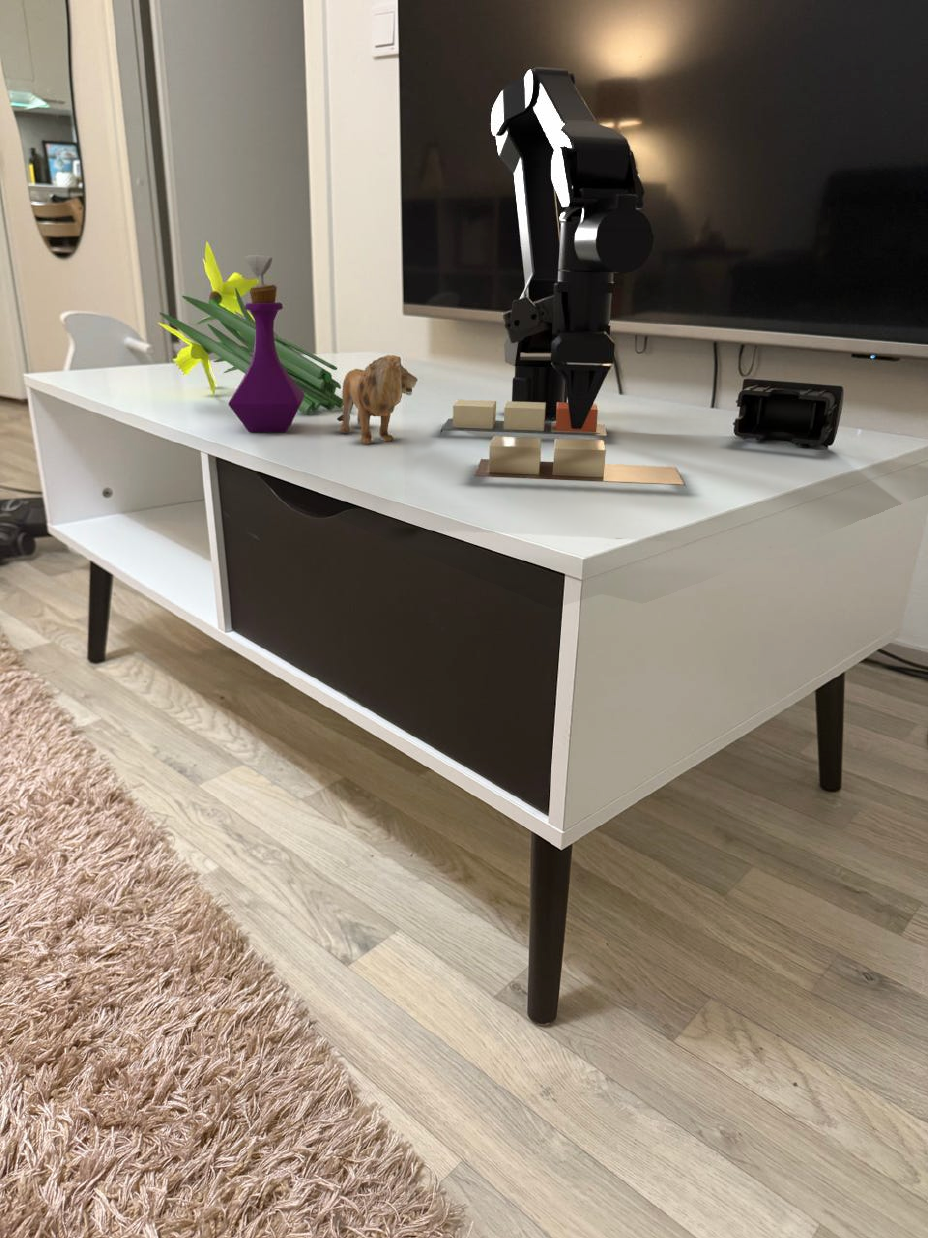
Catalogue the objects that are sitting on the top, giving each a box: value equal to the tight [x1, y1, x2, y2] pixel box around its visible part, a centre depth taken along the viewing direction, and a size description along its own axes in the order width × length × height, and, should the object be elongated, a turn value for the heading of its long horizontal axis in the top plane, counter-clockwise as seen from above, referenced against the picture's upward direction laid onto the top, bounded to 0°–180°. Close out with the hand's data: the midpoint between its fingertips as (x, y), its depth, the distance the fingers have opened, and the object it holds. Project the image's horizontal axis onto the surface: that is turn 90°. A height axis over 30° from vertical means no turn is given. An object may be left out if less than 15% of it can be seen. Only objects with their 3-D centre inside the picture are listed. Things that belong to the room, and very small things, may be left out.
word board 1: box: [439, 399, 608, 437], centre depth 100 cm, size 18×7×3 cm, turn 84°
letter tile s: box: [555, 402, 599, 432], centre depth 100 cm, size 4×4×2 cm
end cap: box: [732, 378, 845, 449], centre depth 95 cm, size 10×7×7 cm
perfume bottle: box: [228, 254, 305, 433], centre depth 97 cm, size 8×8×18 cm
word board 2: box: [473, 435, 686, 486], centre depth 80 cm, size 18×7×3 cm, turn 84°
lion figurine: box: [336, 354, 418, 445], centre depth 96 cm, size 15×5×9 cm, turn 33°
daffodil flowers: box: [156, 241, 343, 415], centre depth 120 cm, size 17×15×35 cm
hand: (575, 422), depth 100 cm, fingers open, 7 cm apart
